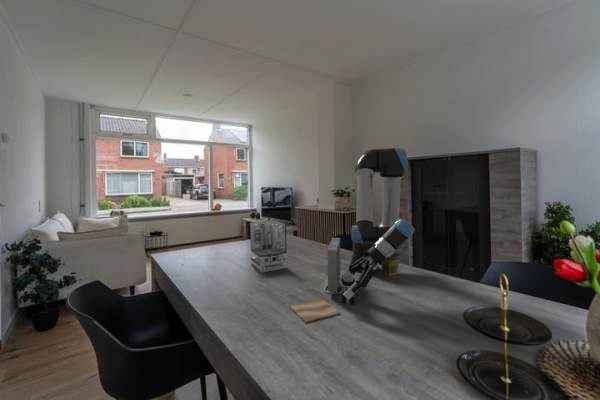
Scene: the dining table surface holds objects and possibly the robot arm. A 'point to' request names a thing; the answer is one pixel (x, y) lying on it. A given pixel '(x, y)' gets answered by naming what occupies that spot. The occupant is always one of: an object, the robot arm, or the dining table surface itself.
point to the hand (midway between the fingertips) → (342, 290)
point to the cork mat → (314, 310)
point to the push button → (347, 284)
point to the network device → (333, 268)
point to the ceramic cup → (391, 265)
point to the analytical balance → (268, 245)
